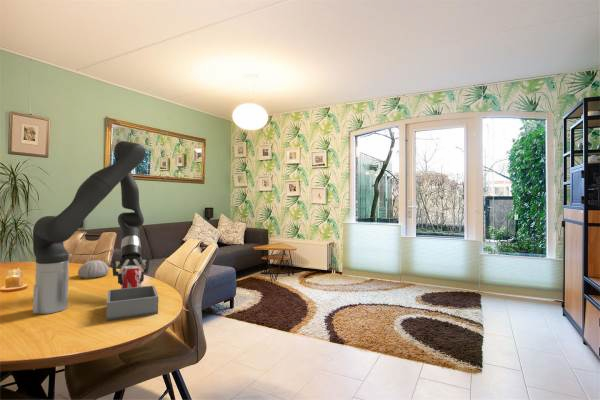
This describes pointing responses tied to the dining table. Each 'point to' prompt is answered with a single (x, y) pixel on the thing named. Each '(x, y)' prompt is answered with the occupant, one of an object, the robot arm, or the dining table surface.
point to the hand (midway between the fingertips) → (131, 282)
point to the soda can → (131, 276)
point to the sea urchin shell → (93, 269)
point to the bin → (131, 302)
